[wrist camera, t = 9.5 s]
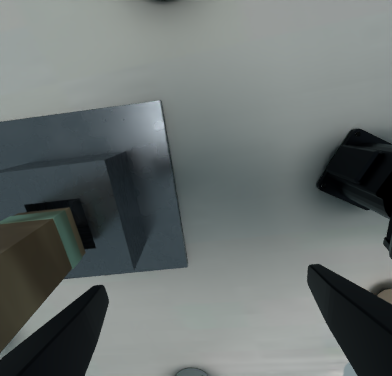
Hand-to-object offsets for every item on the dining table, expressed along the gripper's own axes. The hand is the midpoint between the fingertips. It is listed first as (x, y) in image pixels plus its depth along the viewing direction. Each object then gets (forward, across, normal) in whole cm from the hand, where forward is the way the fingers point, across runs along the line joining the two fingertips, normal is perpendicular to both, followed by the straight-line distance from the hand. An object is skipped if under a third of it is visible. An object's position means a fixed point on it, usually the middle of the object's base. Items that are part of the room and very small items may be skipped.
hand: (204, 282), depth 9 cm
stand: (+13, +12, 0) cm, 17 cm away
